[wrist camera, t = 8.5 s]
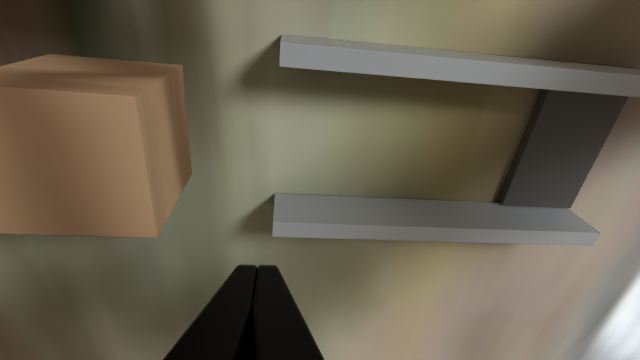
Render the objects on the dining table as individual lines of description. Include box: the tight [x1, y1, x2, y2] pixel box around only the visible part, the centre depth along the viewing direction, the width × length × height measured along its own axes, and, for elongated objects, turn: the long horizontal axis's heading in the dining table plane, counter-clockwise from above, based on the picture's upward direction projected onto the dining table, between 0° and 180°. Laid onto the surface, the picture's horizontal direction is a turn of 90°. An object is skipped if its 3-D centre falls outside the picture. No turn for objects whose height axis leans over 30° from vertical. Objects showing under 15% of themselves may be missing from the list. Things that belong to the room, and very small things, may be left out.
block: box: [0, 54, 192, 238], centre depth 13 cm, size 5×5×5 cm
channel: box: [272, 35, 640, 246], centre depth 16 cm, size 16×8×2 cm, turn 84°
